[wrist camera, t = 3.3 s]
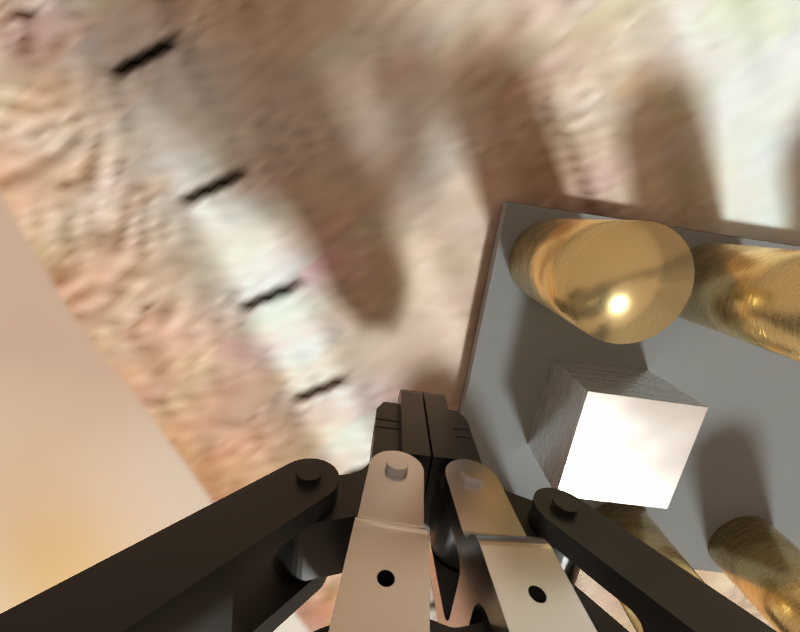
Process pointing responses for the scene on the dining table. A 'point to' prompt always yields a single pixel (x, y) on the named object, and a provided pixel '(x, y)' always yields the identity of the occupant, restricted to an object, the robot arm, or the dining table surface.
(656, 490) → the white faced textured brick
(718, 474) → the mat
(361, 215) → the dining table surface
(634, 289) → the spacers
